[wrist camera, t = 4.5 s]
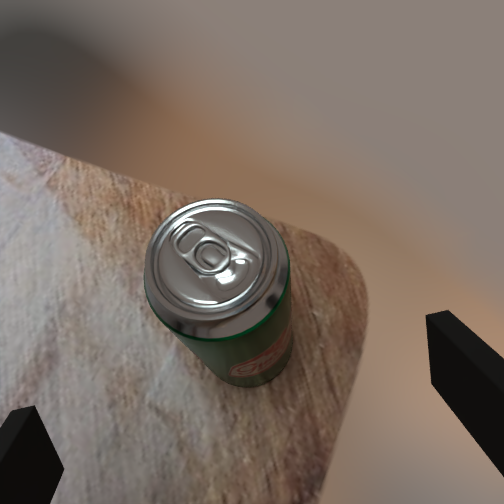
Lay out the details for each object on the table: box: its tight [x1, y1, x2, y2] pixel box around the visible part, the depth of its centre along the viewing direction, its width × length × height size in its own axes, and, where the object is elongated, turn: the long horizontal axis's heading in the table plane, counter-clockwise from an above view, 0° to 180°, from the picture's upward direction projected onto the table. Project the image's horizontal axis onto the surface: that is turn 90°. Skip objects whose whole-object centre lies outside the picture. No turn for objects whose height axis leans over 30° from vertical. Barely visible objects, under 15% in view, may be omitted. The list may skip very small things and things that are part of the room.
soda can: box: [144, 198, 293, 387], centre depth 19 cm, size 5×5×12 cm
